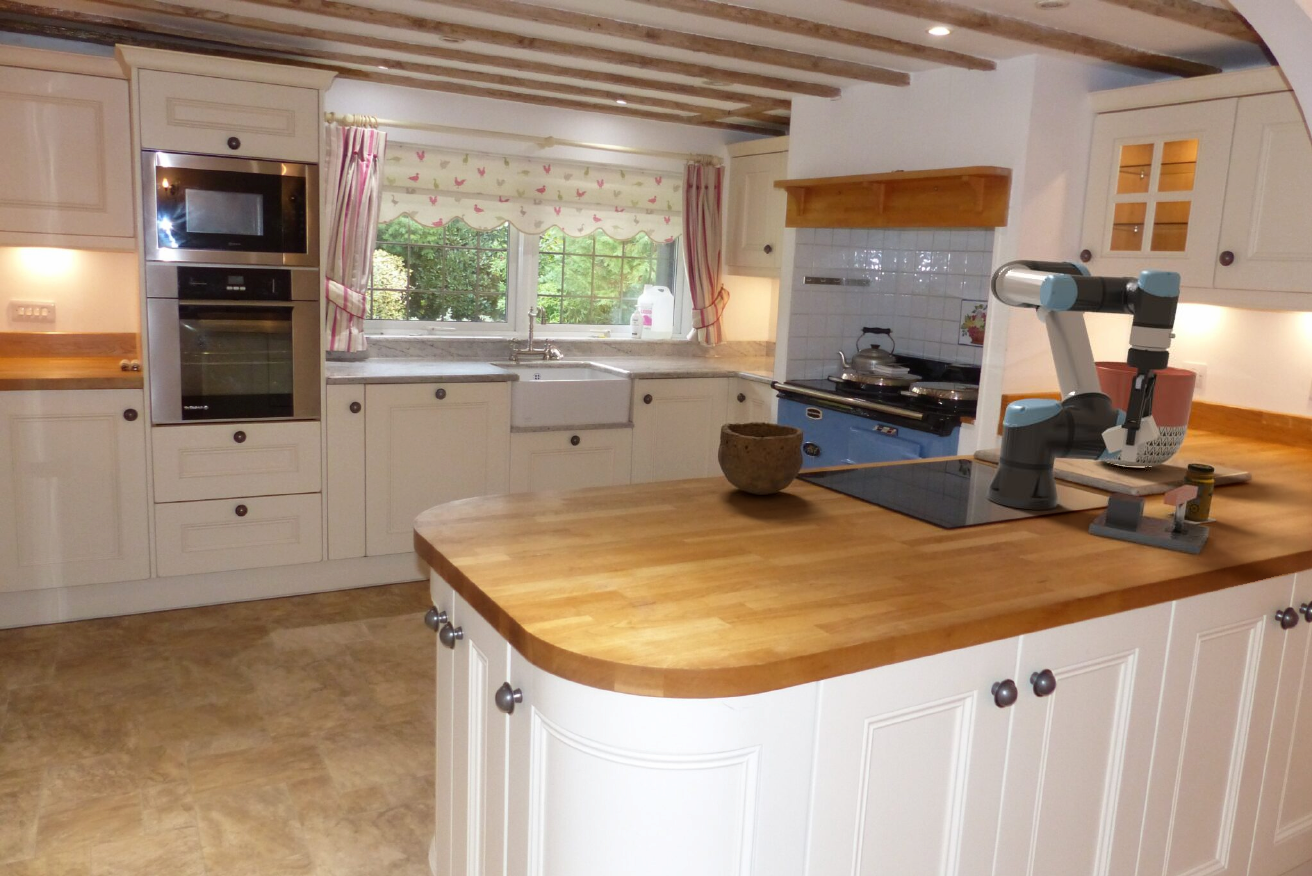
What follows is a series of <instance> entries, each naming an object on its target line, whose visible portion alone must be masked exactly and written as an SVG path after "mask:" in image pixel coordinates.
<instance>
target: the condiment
mask: <svg viewBox="0 0 1312 876" xmlns="http://www.w3.org/2000/svg"><path fill="white" fill-rule="evenodd" d="M1186 469H1187V470H1186V472H1185V473H1186V474H1185V475H1184V476H1183V480H1182V486H1184V485H1190V486H1196V487H1198V489H1197V496H1196V498H1194V499H1191V500H1189V501H1187V503H1186V509H1185V515H1184V523H1187V524H1192V525H1198V524H1200V525H1201V524H1203V523H1204V524H1205V523H1210V522H1215V521H1216V519H1215V518H1210V517H1209V516H1210V510H1211V506H1212V499H1213V492H1214V488H1215V479H1214V476H1215V467H1214V466H1212V465H1208V464H1204V463H1196V462H1195V463H1189V464H1187V468H1186ZM1182 486H1181V487H1182ZM1174 514H1175V512H1174V513H1173V512H1172V513H1169V514H1167V513H1166V514H1164V517H1167V518H1170V519H1174Z"/></svg>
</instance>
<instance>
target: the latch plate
mask: <svg viewBox="0 0 1312 876" xmlns="http://www.w3.org/2000/svg"><path fill="white" fill-rule="evenodd" d="M1145 504H1146V497H1143V496H1142V497H1141V496H1137V495H1130V494H1125V493H1121V492H1120V493H1119V492H1113V493H1112V494H1111V495H1110V496H1109V497H1108V500H1107V508H1105V510H1103V511H1102V512H1101V513H1100V514H1099V515H1098V516H1097V517H1096V518H1095V519H1093V521H1092V522H1091V523H1089V530H1088V534H1090V535H1094V536H1100V537H1104V538H1110V539H1114V540H1115V539H1116V540H1121V541H1127V542H1131V543H1135V542H1136V543H1137V544H1140V545H1145V544H1146V545H1147V546H1151V547H1157V548H1163V549H1165V550H1166V549H1167V550H1170V551H1176V550H1178V551H1177V552H1182V551H1184V552H1183V553H1188V554H1192V553H1193V555H1197V556H1198V555H1199V554H1200V551H1202V548H1203V546H1204V544H1205V542H1206V540H1207V539H1208V537H1209V532H1210V527H1207V526H1201V525H1198V524H1192V523H1188V522H1183V528H1182V531H1175V530H1172V527H1173V520H1169V519H1163V518H1158V517H1151V516H1146V515H1144V509H1145Z"/></svg>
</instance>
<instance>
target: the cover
mask: <svg viewBox="0 0 1312 876" xmlns="http://www.w3.org/2000/svg"><path fill="white" fill-rule="evenodd" d="M1131 422H1134V421H1131ZM1121 426H1122V425H1119V426H1116V427H1112V428H1109V429H1107V430H1106V431H1105V432H1103V433H1102V436H1103V439H1104V442H1105V444H1106V447H1107V449H1108V452H1109V453H1112V452H1116V451H1119V450H1122V447H1123V441H1124V434H1125V428H1121ZM1139 430H1141V431H1140V437H1139V444H1141V443H1145V442H1148V441H1151V440H1154V439H1156V438H1157V437H1158V435H1159V431H1158V429H1157V426H1156V424H1155V421H1154V419H1153V416H1152V415H1150V416H1147V417H1143V418H1142V419H1141V424H1140V429H1139Z"/></svg>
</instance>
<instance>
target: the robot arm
mask: <svg viewBox="0 0 1312 876" xmlns="http://www.w3.org/2000/svg"><path fill="white" fill-rule="evenodd" d="M1138 276H1139V278H1137V277H1133V276H1120V277H1119V276H1100V275H1099V276H1098V275H1096V276H1094V275H1092V274H1091V272H1090V270H1089V268H1088V267H1087V266H1085V265H1084V264H1082V263H1079V262H1077V263H1076V262H1071V261H1066V260H1065V261H1046V260H1028V259H1018V260H1012V261H1008V262H1006V263H1003V264H1002V265H1001V266H1000V267H998V268H997V269H996V270H995V271H994V272H993V274H992V276H991V279H990V290H991V292H992V293H991V294H992V295H993V296H994V298H995V299H996V300H997V301H998V302H999V303H1002V304H1004V305H1006V306H1009V307H1015V308H1024V309H1025V308H1026V309H1034V310H1035V311H1036V312H1035V313H1036V316H1037V318H1038V321H1040V322H1041V323H1043V324H1045V327H1046V331H1047V336H1048V341H1049V345H1050V351H1051V354H1052V355H1051V356H1052V359H1053V363H1054V368H1055V372H1056V378H1057V381H1058V386H1059V391H1060V396H1061V401H1059V400H1058V399H1051V398H1025V399H1018V400H1015V401H1012V402H1010V403H1009V404H1008V405H1007V407H1006V409H1005V413H1004V419H1003V420H1002V425H1003V426H1002V435H1001V441H1000V442H1001V444H1000V452H999V459H998V461H999V462H998V466H997V468H996V470H995V472H994V474H993V477H992V478H991V480H990V483H989V485H988V487H987V493H986V498H987V499H988V500H989V501H991V502H994V503H995V504H999V505H1002V506H1006V507H1009V508H1010V507H1011V508H1017V509H1023V510H1034V511H1036V510H1038V511H1039V510H1040V511H1041V510H1051V509H1055V508H1057V506H1058V499H1059V496H1058V495H1059V494H1058V489H1057V486H1056V480H1055V476H1054V466H1055V460H1056V459H1067V460H1068V459H1069V460H1070V459H1071V460H1072V459H1074V460H1092V461H1093V460H1094V461H1095V462H1097V461H1102V460H1111V459H1114V458H1115V457H1117V456H1118V455H1119V454H1120V453H1121V451H1122V454H1121V460H1124V461H1130V462H1136V457H1137V454H1144V452H1145V446H1146V442H1145V443H1141V444H1139V437H1140V431H1141V430H1139V429H1140V424H1141V419H1142V418H1143V417H1147V416H1150V415H1152V406H1153V398H1154V389H1155V384H1156V380H1157V378H1156V377H1157V373H1154V370H1164V369H1166V368H1167V366H1168V364H1169V359H1170V352H1169V351H1168V350H1167V349H1169V348H1171V345H1172V344H1171V343H1172V339H1175V338H1176V333H1173V331H1174V325H1175V320H1176V315H1177V310H1178V309H1177V308H1178V302H1179V296H1180V293H1181V289H1180V286H1181V277H1182V276H1181V274H1180V273H1178V272H1177V271H1171V270H1170V271H1167V270H1154V269H1143V270H1142V271H1141V272H1140V273H1139V275H1138ZM1085 313H1096V314H1098V313H1101V314H1119V315H1131V316H1133V317H1132V322H1131V323H1132V324H1131V327H1130V328H1131V329H1130V334H1129V341H1128V344H1129V345H1130V346H1131V347H1129V348H1128V350H1127V357H1126V361H1125V362H1126V363H1127V365H1128V366H1130V367H1136V368H1138V371H1137V374H1136V375H1135V376H1133V379H1132V386H1131V392H1130V398H1129V403H1128V408H1127V413H1125V411H1123V410H1121V409H1119V408H1117V409H1114V408H1113V405H1112V401H1111V398H1110V397H1109V395H1107V394H1105V393H1103V392H1102V391H1101V387H1100V383H1099V378H1098V374H1097V370H1096V366H1095V362H1096V361H1095V358H1094V354H1093V350H1092V347H1091V342H1090V337H1089V333H1088V328H1087V327H1086V326H1087V324H1086V322H1085V317H1084V315H1085ZM1168 367H1169V366H1168ZM1131 421H1134V422H1131ZM1119 425H1122V426H1121V428H1125V434H1124V441H1123V447H1122V450H1119V451H1116V452H1112V453H1109V452H1108V449H1107V447H1106V444H1105V442H1104V439H1103V436H1102V433H1103V432H1105V431H1106V430H1107V429H1109V428H1112V427H1116V426H1119Z"/></svg>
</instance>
